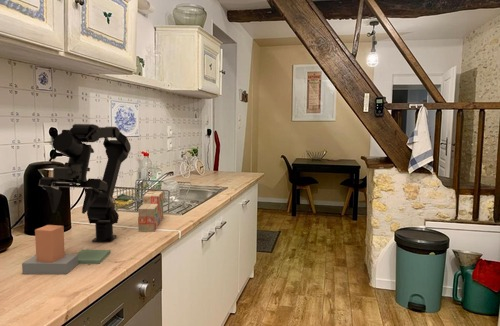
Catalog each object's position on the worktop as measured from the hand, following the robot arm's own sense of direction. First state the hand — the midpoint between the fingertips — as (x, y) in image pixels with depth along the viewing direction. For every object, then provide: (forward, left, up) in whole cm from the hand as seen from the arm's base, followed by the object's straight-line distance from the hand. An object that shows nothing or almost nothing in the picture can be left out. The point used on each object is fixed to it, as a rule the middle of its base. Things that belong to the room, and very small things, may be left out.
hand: (68, 212), depth 106 cm
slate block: (+5, -3, -15) cm, 16 cm away
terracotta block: (+5, -3, -12) cm, 13 cm away
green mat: (-3, +5, -15) cm, 16 cm away
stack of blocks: (-41, +14, -15) cm, 46 cm away
